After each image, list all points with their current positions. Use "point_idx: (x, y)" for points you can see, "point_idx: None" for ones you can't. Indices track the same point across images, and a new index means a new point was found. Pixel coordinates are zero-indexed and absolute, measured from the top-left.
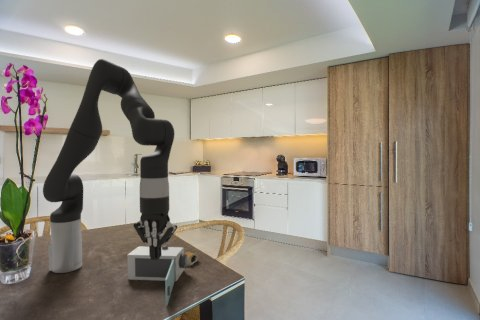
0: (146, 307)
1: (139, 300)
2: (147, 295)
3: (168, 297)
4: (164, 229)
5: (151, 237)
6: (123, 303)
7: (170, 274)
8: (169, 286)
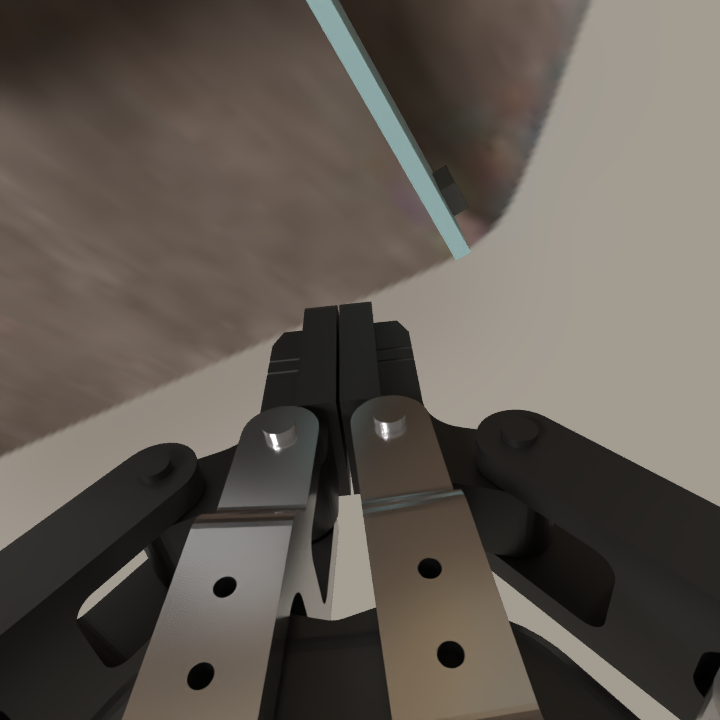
0: (316, 236)
1: (209, 195)
2: (197, 118)
3: (422, 154)
4: (591, 682)
5: (327, 612)
6: (157, 263)
7: (364, 57)
8: (454, 189)
